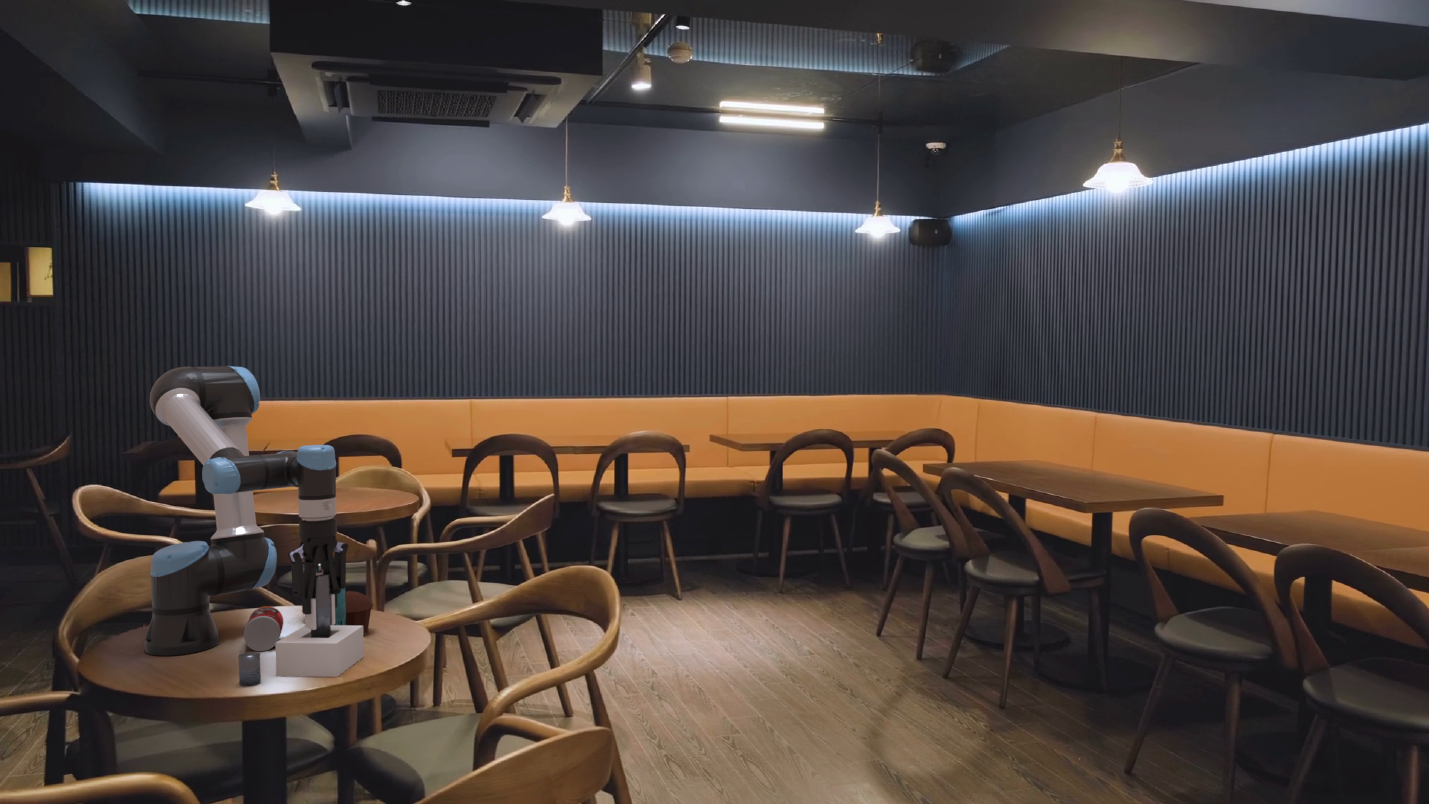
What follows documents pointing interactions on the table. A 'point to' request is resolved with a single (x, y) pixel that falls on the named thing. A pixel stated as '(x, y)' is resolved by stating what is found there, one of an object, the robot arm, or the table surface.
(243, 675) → the short peg
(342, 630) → the hole block
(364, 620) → the muffin
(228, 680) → the table surface
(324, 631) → the long peg
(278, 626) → the canned food
